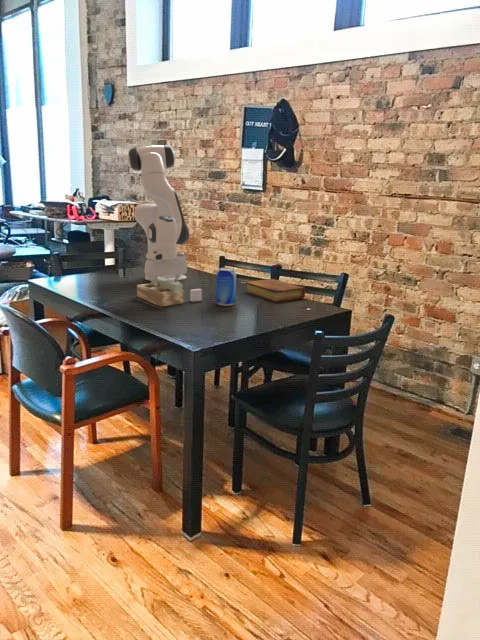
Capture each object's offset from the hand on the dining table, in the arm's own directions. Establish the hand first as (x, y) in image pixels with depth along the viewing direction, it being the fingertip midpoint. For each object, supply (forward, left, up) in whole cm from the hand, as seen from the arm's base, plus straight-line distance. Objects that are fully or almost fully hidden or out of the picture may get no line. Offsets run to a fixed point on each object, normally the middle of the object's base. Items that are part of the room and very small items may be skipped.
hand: (166, 285), depth 234 cm
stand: (-10, 0, -7) cm, 12 cm away
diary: (-52, +16, -8) cm, 55 cm away
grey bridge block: (0, 0, -6) cm, 6 cm away
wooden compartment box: (+3, 0, -7) cm, 8 cm away
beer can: (-18, +20, -7) cm, 28 cm away
